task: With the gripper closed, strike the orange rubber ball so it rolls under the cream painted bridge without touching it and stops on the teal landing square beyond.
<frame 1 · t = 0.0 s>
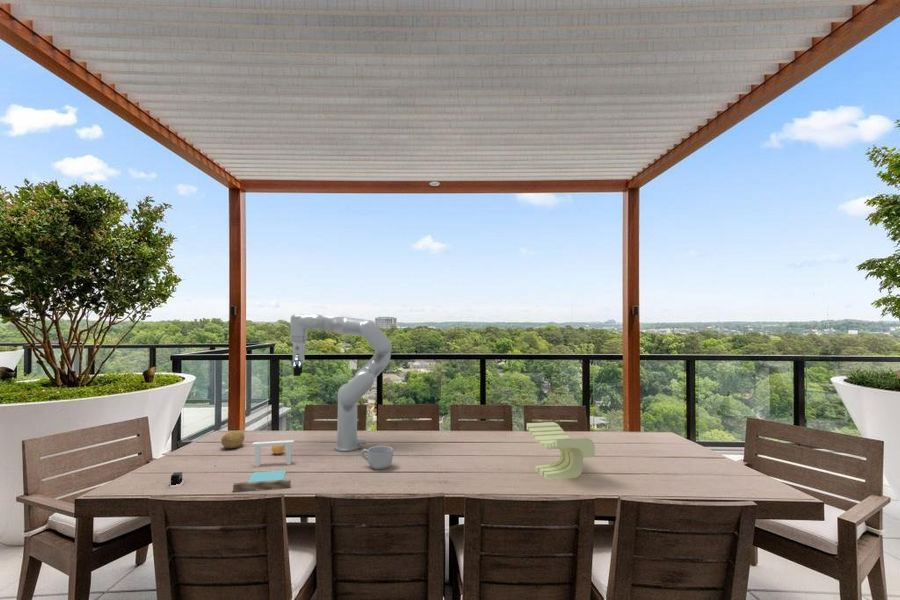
hand: (297, 374, 230), 37 cm above the table, tool pointing down, fingers open, 9 cm apart
potato: (233, 447, 235), on the table
teacup: (376, 467, 204), on the table
black angular piece: (176, 486, 182), on the table
stopper: (262, 488, 177), on the table
green ribbed curved stand: (558, 473, 196), on the table
ball: (278, 447, 224), on the table
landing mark: (267, 476, 191), on the table
bridge: (273, 464, 207), on the table
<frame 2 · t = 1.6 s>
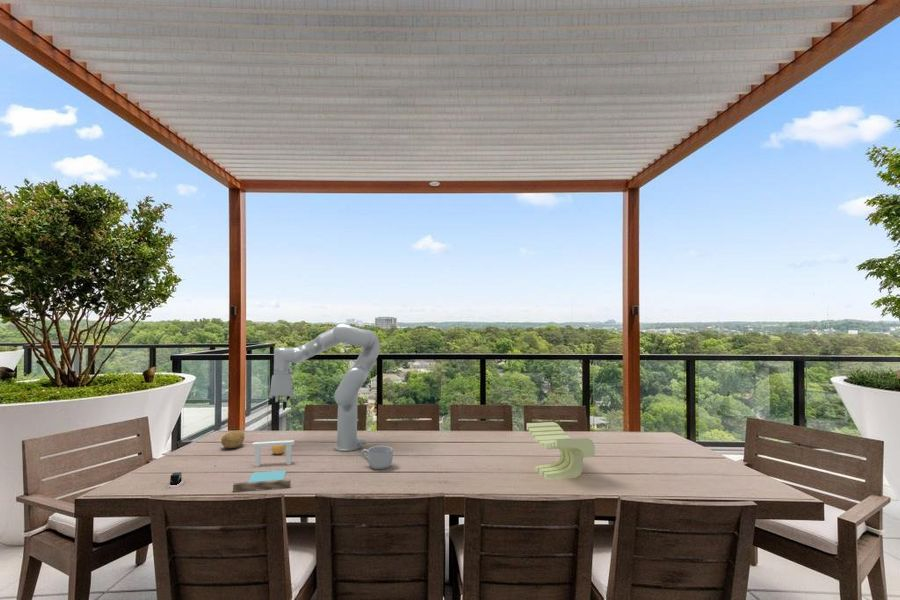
hand: (281, 409, 234), 19 cm above the table, tool pointing down, fingers closed
nothing on the table moved.
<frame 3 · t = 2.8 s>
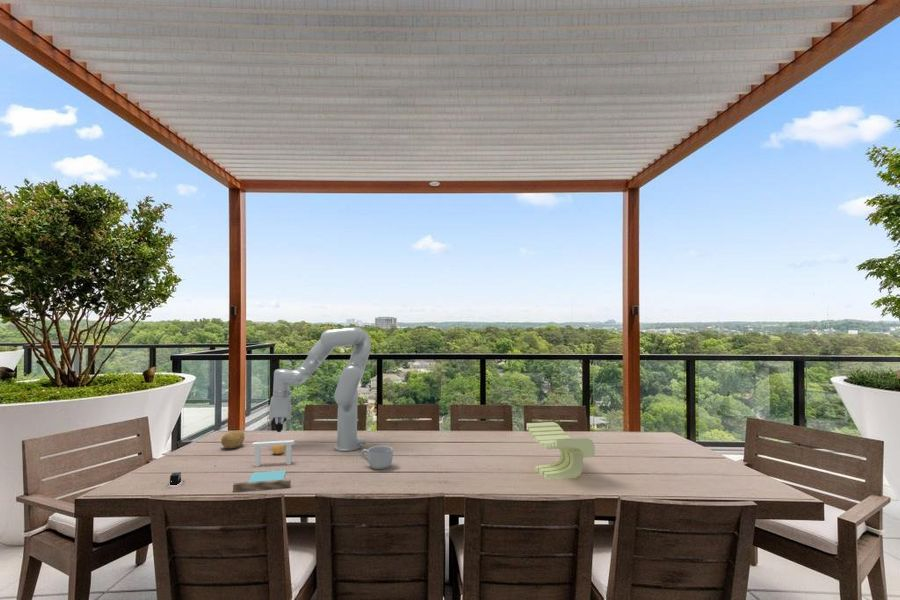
hand: (279, 431, 233), 8 cm above the table, tool pointing down, fingers closed
nothing on the table moved.
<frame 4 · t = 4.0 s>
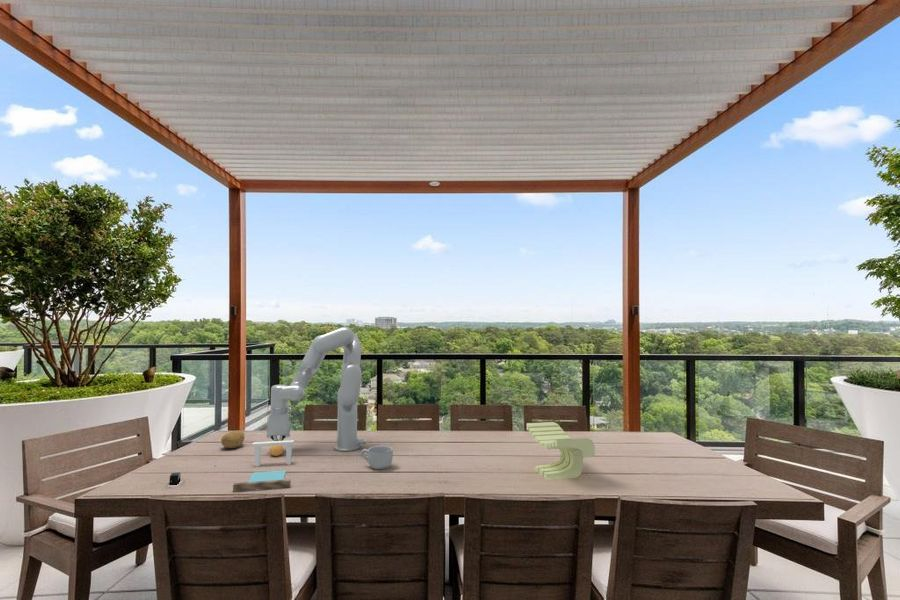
hand: (278, 449, 225), 2 cm above the table, tool pointing down, fingers closed
ball: (276, 449, 221), on the table
everything else where it was.
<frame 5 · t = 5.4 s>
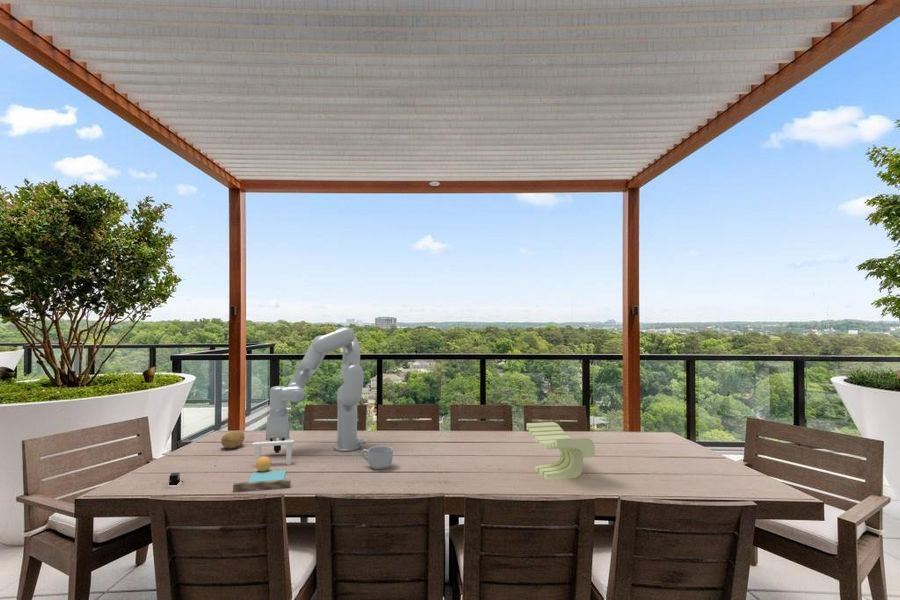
hand: (277, 452, 221), 2 cm above the table, tool pointing down, fingers closed
ball: (263, 464, 198), on the table
everything else where it was.
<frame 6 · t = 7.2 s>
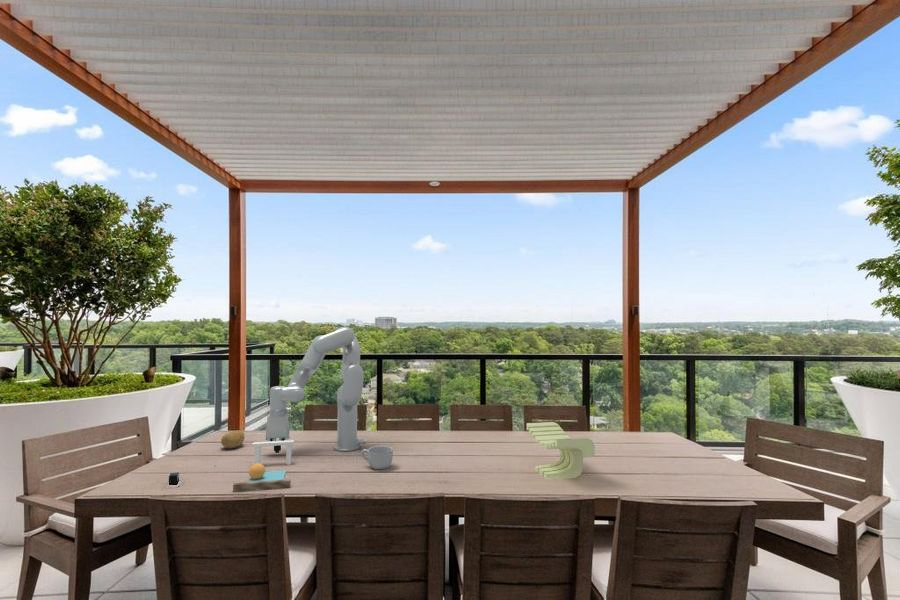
hand: (277, 452, 221), 2 cm above the table, tool pointing down, fingers closed
ball: (257, 471, 188), on the table
everything else where it was.
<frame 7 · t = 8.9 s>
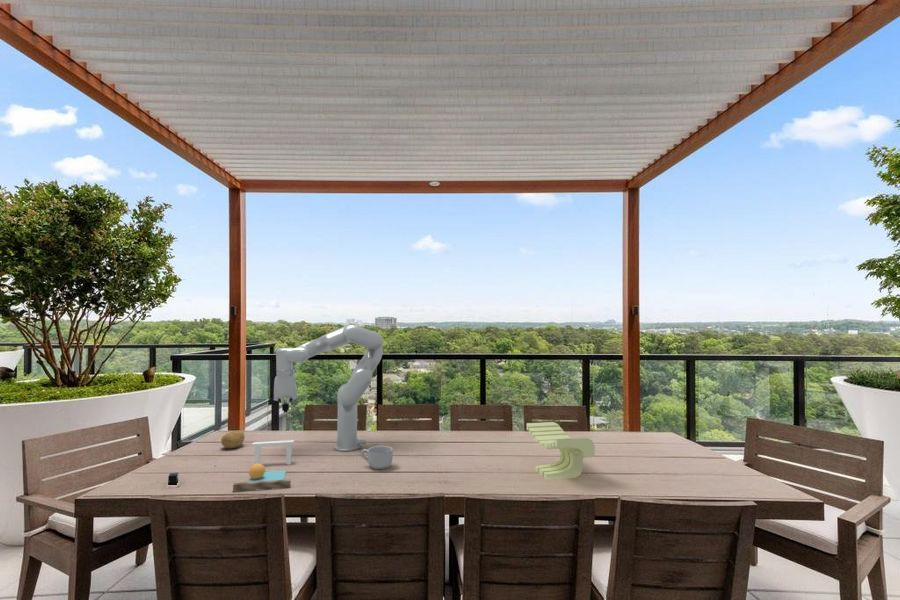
hand: (285, 411, 226), 19 cm above the table, tool pointing down, fingers closed
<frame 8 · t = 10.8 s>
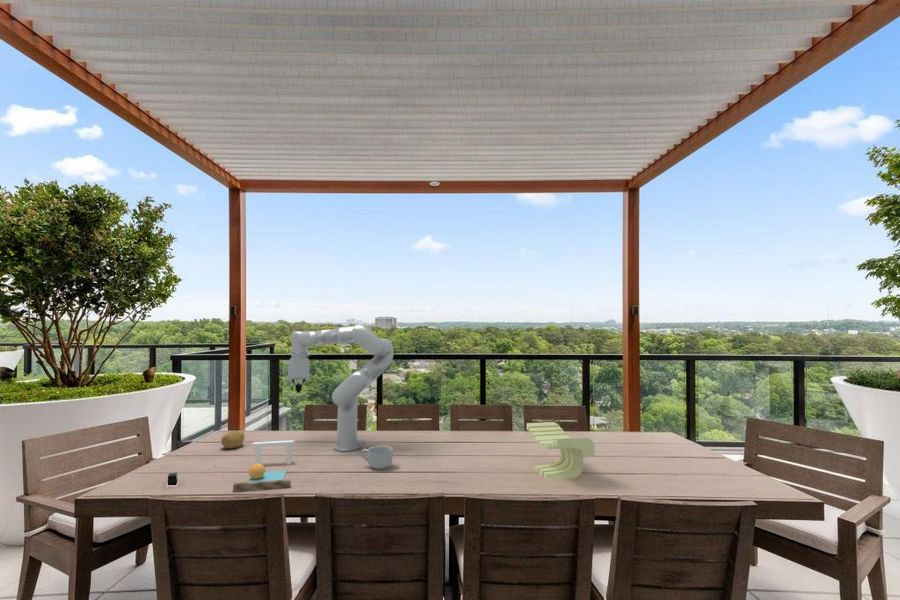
hand: (298, 392, 237), 27 cm above the table, tool pointing down, fingers closed
at the end: ball 4.2 cm from the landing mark (horizontally); ball never touched bridge; ball at rest at the end (0.0 cm/s) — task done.
